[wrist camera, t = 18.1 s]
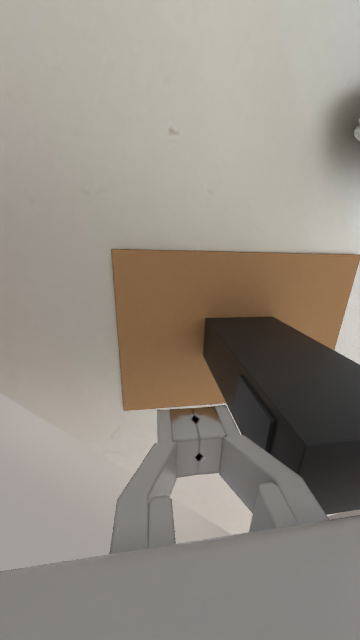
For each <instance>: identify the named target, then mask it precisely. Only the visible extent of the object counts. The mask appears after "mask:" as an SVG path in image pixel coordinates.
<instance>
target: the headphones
mask: <svg viewBox="0 0 360 640" xmlns="http://www.w3.org/2000/svg"><path fill="white" fill-rule="evenodd" d="M359 123H360V119H359ZM354 136H355V138H356V139H357V140H358V141H359V142H360V125H359V126H358V127H357V128H356V129H355V131H354Z"/></svg>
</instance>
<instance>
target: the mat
mask: <svg viewBox="0 0 360 640" xmlns="http://www.w3.org/2000/svg"><path fill="white" fill-rule="evenodd" d="M359 261H360V255H349V254H306V253H262V252H218V251H175V250H131V249H112V263H113V277H114V290H115V303H116V316H117V329H118V342H119V355H120V368H121V381H122V394H123V407H124V411H128V410H141V409H154V408H167V407H180V406H193V405H206V404H219V403H226V401H225V399H224V397H223V395H222V393H221V391H220V389H219V387H218V385H217V383H216V381H215V379H214V377H213V375H212V373H211V371H210V369H209V367H208V365H207V363H206V361H205V359H204V357H203V346H204V330H205V318H226V317H275V318H276V319H278V320H280V321H282V322H284V323H285V324H287V325H289V326H291V327H293V328H294V329H296V330H298V331H300V332H302V333H303V334H305V335H307V336H309V337H311V338H312V339H314V340H316V341H318V342H319V343H321V344H323V345H325V346H327V347H328V348H330V349H332V350H334V349H335V345H336V342H337V338H338V335H339V331H340V328H341V324H342V321H343V317H344V314H345V310H346V306H347V303H348V299H349V296H350V292H351V289H352V285H353V282H354V278H355V275H356V271H357V268H358V264H359Z"/></svg>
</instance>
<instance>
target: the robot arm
mask: <svg viewBox="0 0 360 640" xmlns="http://www.w3.org/2000/svg"><path fill="white" fill-rule="evenodd" d="M157 433H158V443H155V444H154V445H153V447H152V448H151V450H150V451H149V453H148V454H147V456H146V457H145V459H144V460H143V462H142V463H141V465H140V466H139V468H138V469H137V471H136V472H135V474H134V475H133V477H132V478H131V480H130V482H129V483H128V484H127V486H126V487H125V489H124V490H123V492H122V493H121V495H120V497H119V498H118V500H117V504H116V511H115V518H114V526H113V533H112V540H111V547H110V554H108V555H102V556H95V557H89V558H83V559H76V560H70V561H63V562H58V563H51V564H44V565H38V566H31V567H25V568H18V569H12V570H5V571H0V640H360V515H357V516H352V517H345V518H339V519H332V520H329V518H328V517H327V515H326V514H325V512H324V511H323V509H322V508H321V506H320V505H319V503H318V502H317V500H316V498H315V497H314V495H313V494H312V492H311V491H310V489H309V488H308V486H307V485H306V483H305V482H304V480H303V479H302V477H300V476H299V475H298V474H296V473H295V472H294V471H292V470H291V469H290V468H288V467H287V466H285V465H284V464H283V463H281V462H280V461H279V460H277V459H276V458H275V457H273V456H272V455H270V454H269V453H268V452H266V451H265V450H264V449H262V448H261V447H260V446H258V445H257V444H255V443H254V442H253V441H251V440H250V439H249V438H247V437H246V436H245V435H240V433H239V431H238V429H237V427H236V425H235V423H234V421H233V419H232V417H231V415H230V413H229V411H228V409H227V407H226V406H225V405H222V406H214V407H201V408H188V409H169V410H157ZM211 473H219V475H220V476H221V477H222V478H223V479H224V480H225V482H226V483H227V484H228V485H229V486H230V487H231V489H232V490H233V491H234V492H235V493H236V494H237V496H238V497H239V498H240V499H241V500H242V502H243V503H244V504H245V505H246V506H247V507H248V509H249V510H250V511H251V512H252V513H253V516H252V521H251V525H250V530H249V532H248V533H242V534H236V535H230V536H223V537H217V538H210V539H204V540H198V541H191V542H185V543H179V544H176V542H175V531H174V520H173V510H172V499H171V498H169V497H170V494H171V492H172V489H173V487H174V484H175V482H176V479H177V478H178V477H185V476H192V475H199V474H211Z"/></svg>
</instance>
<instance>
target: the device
mask: <svg viewBox="0 0 360 640" xmlns="http://www.w3.org/2000/svg"><path fill="white" fill-rule="evenodd" d="M203 357H204V359H205V361H206V363H207V365H208V367H209V369H210V371H211V373H212V375H213V377H214V379H215V381H216V383H217V385H218V387H219V389H220V391H221V393H222V395H223V397H224V399H225V401H226V403H227V405H228V407H229V409H230V412H231V414H232V416H233V418H234V420H235V422H236V424H237V426H238V428H239V430H240V432H241V434H242V435H245V436H246V437H247V438H249V439H250V440H251V441H253V442H254V443H255V444H257V445H258V446H260V447H261V448H262V449H264V450H265V451H266V452H268V453H269V454H270V455H272V456H273V457H275V458H276V459H277V460H279V461H280V462H281V463H283V464H284V465H285V466H287V467H288V468H290V469H291V470H292V471H294V472H295V473H296V474H298V475H299V476H300V477H302V479H303V480H304V482H305V483H306V485H307V486H308V488H309V489H310V491H311V492H312V494H313V495H314V497H315V498H316V500H317V502H318V503H319V505H320V506H321V508H322V509H323V511H324V512H325V514H326V515H327V514H334V513H340V512H346V511H352V510H358V509H360V365H359V364H357V363H355V362H354V361H352V360H350V359H348V358H346V357H345V356H343V355H341V354H339V353H337V352H336V351H334V350H332V349H330V348H328V347H327V346H325V345H323V344H321V343H319V342H318V341H316V340H314V339H312V338H311V337H309V336H307V335H305V334H303V333H302V332H300V331H298V330H296V329H294V328H293V327H291V326H289V325H287V324H285V323H284V322H282V321H280V320H278V319H276V318H275V317H226V318H205V330H204V346H203Z"/></svg>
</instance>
